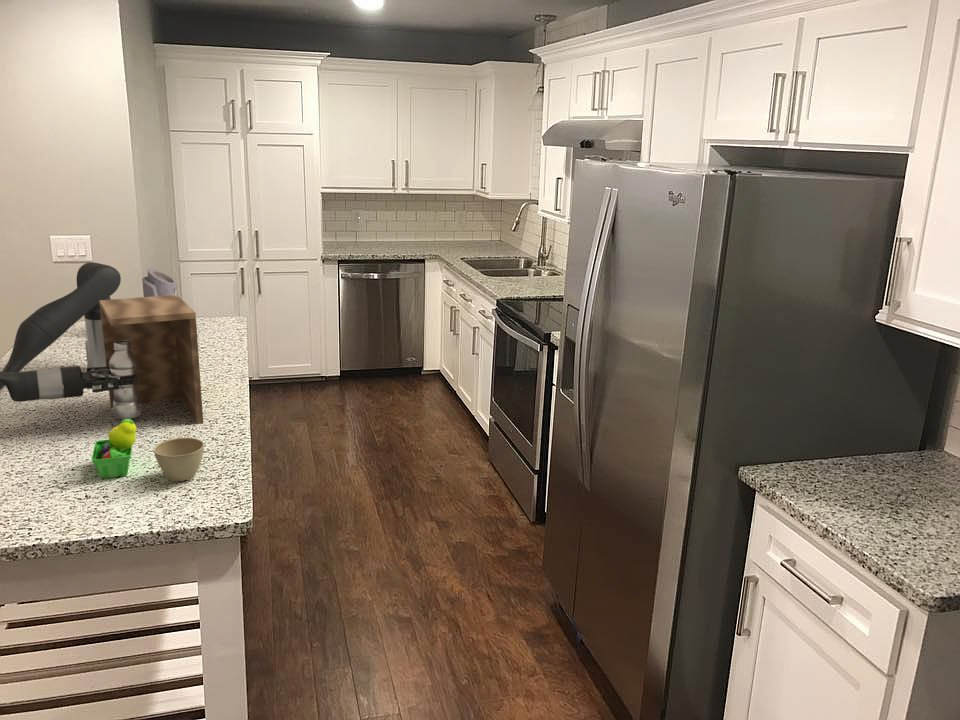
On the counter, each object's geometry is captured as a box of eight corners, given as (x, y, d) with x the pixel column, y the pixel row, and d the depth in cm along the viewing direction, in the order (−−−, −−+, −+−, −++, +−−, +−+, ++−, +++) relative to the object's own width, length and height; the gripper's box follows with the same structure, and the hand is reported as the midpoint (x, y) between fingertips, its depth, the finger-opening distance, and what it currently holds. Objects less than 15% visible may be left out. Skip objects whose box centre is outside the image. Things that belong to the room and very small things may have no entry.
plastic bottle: (131, 423, 190) (125, 346, 185) (107, 420, 191) (101, 343, 186) (147, 415, 196) (142, 340, 191) (124, 412, 197) (118, 337, 192)
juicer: (199, 331, 283) (194, 265, 276) (188, 342, 268) (183, 273, 261) (114, 330, 279) (107, 264, 272) (98, 341, 264) (91, 272, 257)
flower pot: (164, 467, 168) (162, 437, 166) (211, 467, 169) (209, 437, 167) (149, 487, 159) (146, 455, 157) (199, 487, 159) (196, 455, 157)
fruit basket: (97, 461, 170) (92, 414, 167) (140, 456, 173) (136, 410, 170) (93, 482, 160) (87, 432, 157) (139, 477, 163) (134, 428, 160)
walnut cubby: (122, 435, 185) (110, 319, 176) (110, 406, 203) (99, 300, 195) (203, 423, 194) (195, 312, 186) (185, 396, 213) (177, 294, 205)
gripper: (59, 389, 190) (132, 381, 199) (63, 406, 179) (140, 398, 187) (56, 360, 188) (130, 353, 197) (60, 376, 176) (138, 368, 185)
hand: (134, 375), depth 192 cm, fingers closed on plastic bottle, 6 cm apart
